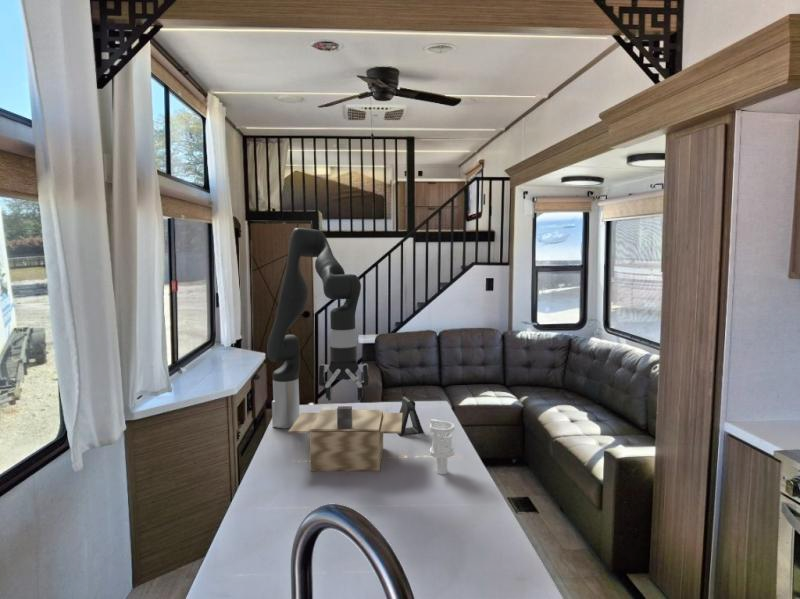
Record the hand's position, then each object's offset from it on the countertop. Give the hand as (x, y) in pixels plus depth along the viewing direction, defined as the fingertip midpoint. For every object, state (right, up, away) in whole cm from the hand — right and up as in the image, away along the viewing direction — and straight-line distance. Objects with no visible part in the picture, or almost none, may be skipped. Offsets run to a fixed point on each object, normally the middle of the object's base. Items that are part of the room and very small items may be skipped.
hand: (344, 399), depth 147 cm
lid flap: (0, -8, +9) cm, 12 cm away
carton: (0, -20, +10) cm, 22 cm away
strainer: (+28, -21, 0) cm, 35 cm away
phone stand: (+19, -18, +33) cm, 42 cm away
